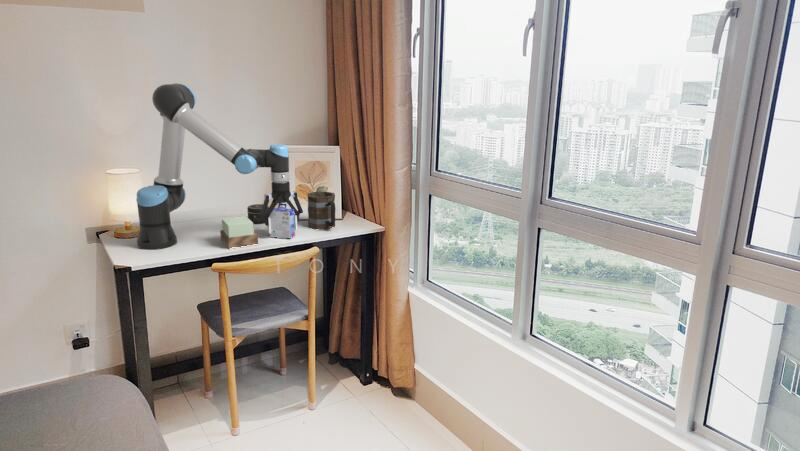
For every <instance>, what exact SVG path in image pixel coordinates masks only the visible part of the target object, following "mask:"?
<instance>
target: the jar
mask: <svg viewBox="0 0 800 451" xmlns="http://www.w3.org/2000/svg"><path fill="white" fill-rule="evenodd" d="M262 207H263V204H262V203H260V204H259V203H257V204H251V205H248V206H247V208H246V209H247V211H246V212H247V218H248V219H249V220H251V221H252V222H253V225H265V218H262V217H261V216H260V213H261V210H262ZM269 207H270V205H268V207H267V210H268V208H269ZM267 210H266V212H267ZM265 214H266V213H265Z"/></svg>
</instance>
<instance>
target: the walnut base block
mask: <svg viewBox="0 0 800 451" xmlns="http://www.w3.org/2000/svg"><path fill="white" fill-rule="evenodd" d="M219 232H220V241H221V242H222V243H223V242H224V243H225V244H224V243H223V244H224V245H225V247H228V248H232V247H240V248H242V247H241V246H247V245H253V244H258V245H259V237H258V235H259V234H258V233H257V232H256V231H254V235H246V236H238V237H230V238H229V237H228V236H227V235H226V233H225V232H224V231H223V229H220V231H219ZM247 247H248V246H247ZM228 248H227V249H228Z"/></svg>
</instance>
